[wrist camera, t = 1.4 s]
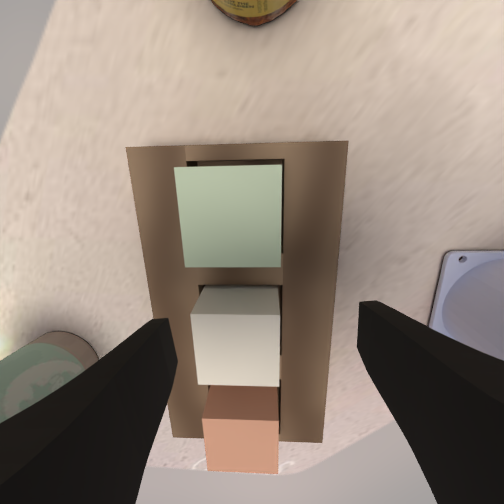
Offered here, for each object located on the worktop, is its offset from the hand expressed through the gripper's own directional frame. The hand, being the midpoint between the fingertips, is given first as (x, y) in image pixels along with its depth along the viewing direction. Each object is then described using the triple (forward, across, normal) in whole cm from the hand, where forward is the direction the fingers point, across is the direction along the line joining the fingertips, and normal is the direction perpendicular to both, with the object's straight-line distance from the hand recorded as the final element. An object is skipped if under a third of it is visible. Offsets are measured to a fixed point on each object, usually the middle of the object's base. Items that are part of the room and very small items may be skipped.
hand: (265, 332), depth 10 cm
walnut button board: (+10, +1, +4) cm, 11 cm away
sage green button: (+8, +1, -4) cm, 9 cm away
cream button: (+8, +1, +4) cm, 9 cm away
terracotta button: (+8, +2, +11) cm, 14 cm away
